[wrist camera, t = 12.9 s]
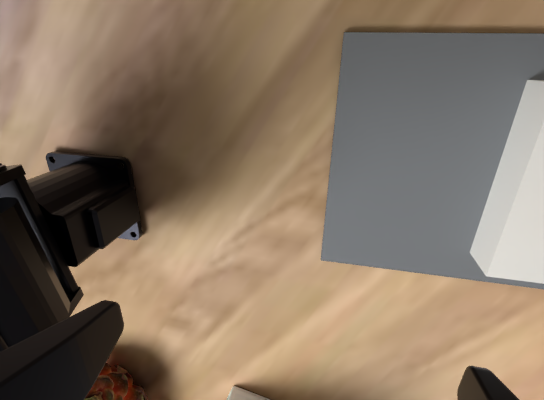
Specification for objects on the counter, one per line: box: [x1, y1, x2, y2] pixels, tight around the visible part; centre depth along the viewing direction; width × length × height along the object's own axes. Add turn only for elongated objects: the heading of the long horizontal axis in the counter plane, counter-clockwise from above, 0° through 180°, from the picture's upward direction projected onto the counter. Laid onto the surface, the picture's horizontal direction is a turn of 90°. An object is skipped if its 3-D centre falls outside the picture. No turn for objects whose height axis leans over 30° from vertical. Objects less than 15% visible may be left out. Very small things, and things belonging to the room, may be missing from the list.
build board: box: [321, 32, 544, 289], centre depth 16 cm, size 20×14×3 cm
